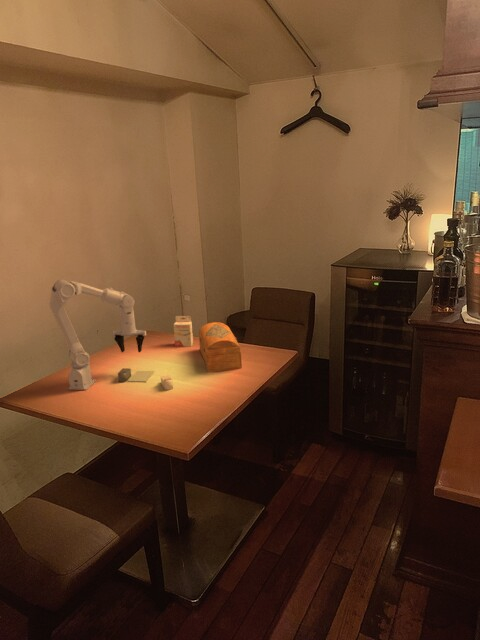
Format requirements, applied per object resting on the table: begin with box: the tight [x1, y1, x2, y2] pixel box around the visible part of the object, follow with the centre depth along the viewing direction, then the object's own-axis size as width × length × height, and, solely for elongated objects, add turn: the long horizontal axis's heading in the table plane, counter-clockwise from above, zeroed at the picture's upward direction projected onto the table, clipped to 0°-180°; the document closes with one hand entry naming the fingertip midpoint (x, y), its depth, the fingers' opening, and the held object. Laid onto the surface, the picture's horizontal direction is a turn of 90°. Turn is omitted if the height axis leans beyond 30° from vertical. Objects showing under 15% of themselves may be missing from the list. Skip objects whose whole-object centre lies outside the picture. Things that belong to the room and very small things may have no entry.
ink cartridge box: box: [173, 315, 194, 347], centre depth 236 cm, size 9×5×15 cm, turn 84°
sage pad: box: [127, 370, 155, 383], centre depth 200 cm, size 11×8×1 cm
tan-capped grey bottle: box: [117, 368, 133, 383], centre depth 199 cm, size 9×4×4 cm, turn 172°
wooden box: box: [198, 321, 242, 373], centre depth 215 cm, size 30×16×14 cm, turn 10°
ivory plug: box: [160, 374, 174, 391], centre depth 189 cm, size 9×4×4 cm, turn 22°
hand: (131, 351), depth 203 cm, fingers open, 7 cm apart
